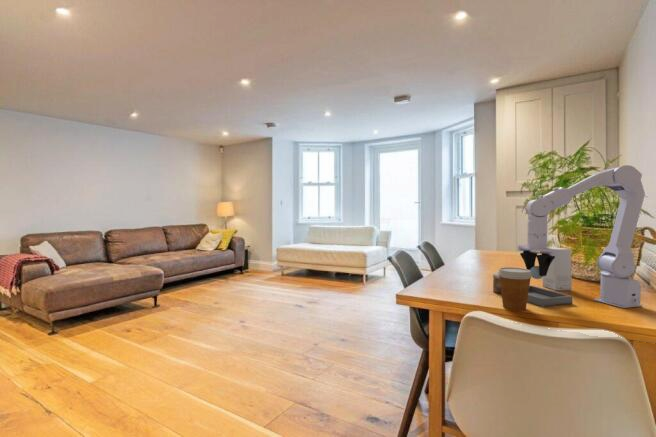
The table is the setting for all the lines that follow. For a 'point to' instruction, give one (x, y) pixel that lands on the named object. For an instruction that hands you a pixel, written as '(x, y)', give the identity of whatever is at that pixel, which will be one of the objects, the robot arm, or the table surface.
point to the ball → (535, 272)
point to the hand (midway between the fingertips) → (536, 274)
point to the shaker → (496, 284)
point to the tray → (547, 297)
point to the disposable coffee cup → (514, 287)
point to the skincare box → (559, 271)
